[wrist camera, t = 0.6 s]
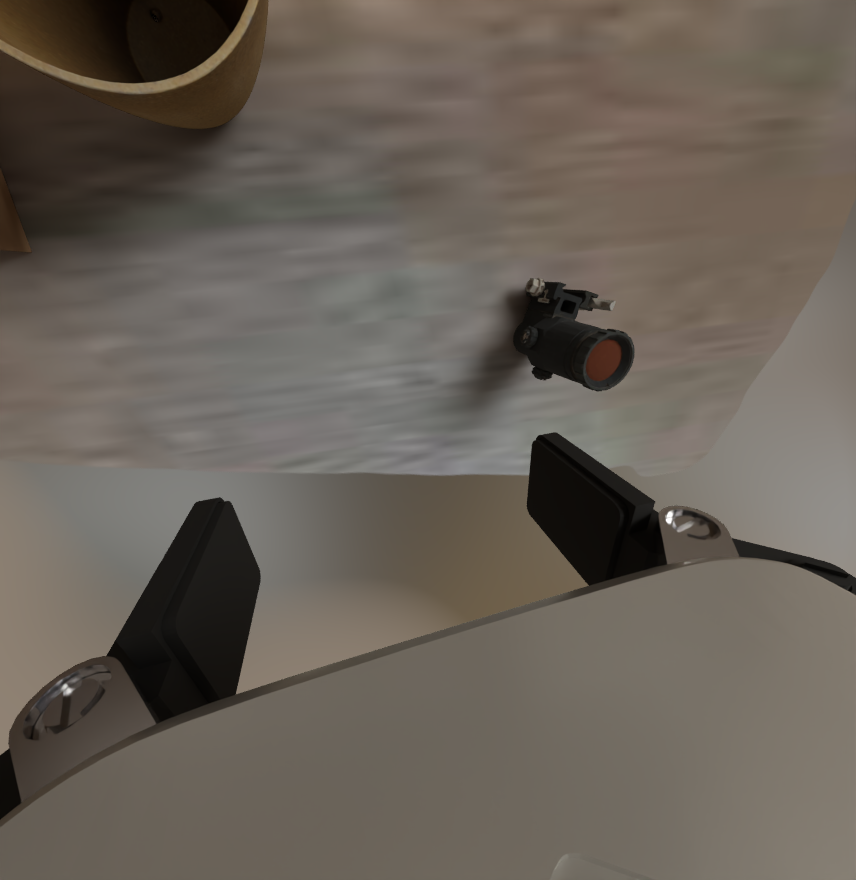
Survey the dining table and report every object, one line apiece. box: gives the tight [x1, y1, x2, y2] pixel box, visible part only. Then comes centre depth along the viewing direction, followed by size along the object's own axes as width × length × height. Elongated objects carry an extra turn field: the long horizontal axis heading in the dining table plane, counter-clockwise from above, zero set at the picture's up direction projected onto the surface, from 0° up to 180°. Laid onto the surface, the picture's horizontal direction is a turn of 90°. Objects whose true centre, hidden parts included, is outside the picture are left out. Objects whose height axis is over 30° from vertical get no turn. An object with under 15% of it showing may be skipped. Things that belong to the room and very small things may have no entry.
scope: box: [513, 278, 634, 391], centre depth 35 cm, size 8×14×10 cm
